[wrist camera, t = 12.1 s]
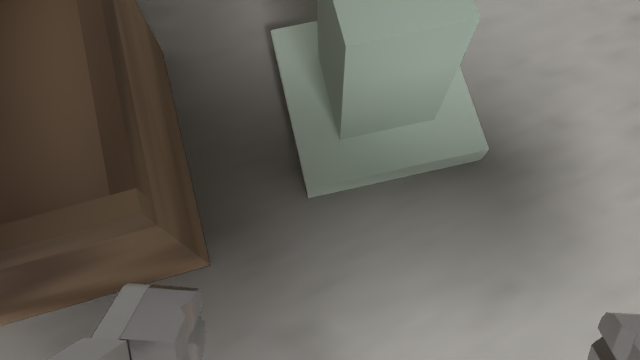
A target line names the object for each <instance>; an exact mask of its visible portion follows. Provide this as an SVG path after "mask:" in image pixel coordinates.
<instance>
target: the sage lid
mask: <svg viewBox="0 0 640 360" xmlns="http://www.w3.org/2000/svg"><path fill="white" fill-rule="evenodd" d="M480 19H481V17H480V15H479V12H478V10H477V7H476V4H475V2H474V0H317V21H313V22H308V23H303V24H298V25H293V26H288V27H283V28H278V29H273V30H270V31H271V37H272V43H273V48H274V52H275V56H276V61H277V65H278V69H279V74H280V78H281V82H282V87H283V91H284V96H285V100H286V104H287V109H288V113H289V117H290V122H291V126H292V130H293V135H294V139H295V143H296V148H297V152H298V156H299V161H300V165H301V169H302V174H303V178H304V183H305V187H306V191H307V196H308V198H312V197H316V196H321V195H325V194H330V193H334V192H339V191H343V190H348V189H352V188H357V187H361V186H366V185H370V184H375V183H379V182H384V181H388V180H393V179H397V178H402V177H406V176H411V175H416V174H420V173H425V172H429V171H434V170H438V169H443V168H447V167H452V166H456V165H461V164H465V163H470V162H474V161H479V160H481V159H482V158H483V157H484V155H485V154H486V153H487V152H488V150H489V147H488V144H487V141H486V139H485V136H484V133H483V130H482V127H481V124H480V122H479V119H478V116H477V113H476V110H475V108H474V105H473V102H472V99H471V96H470V93H469V91H468V88H467V85H466V82H465V79H464V77H463V74H462V71H461V68H460V63H461V61H462V59H463V56H464V54H465V52H466V50H467V48H468V46H469V43H470V41H471V39H472V37H473V35H474V33H475V30H476V28H477V26H478V24H479V22H480Z"/></svg>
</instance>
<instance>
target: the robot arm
mask: <svg viewBox="0 0 640 360" xmlns="http://www.w3.org/2000/svg"><path fill="white" fill-rule="evenodd" d="M202 306H203V299H202V291H201V290H200V289H199V288H187V287H175V286H163V285H146V284H133V283H128V284H126V285H124V286H123V287H122V288H121V290H120V292H119V293H118V295H117V296H116V298H115V300H114V301H113V303H112V304H111V306H110V308H109V309H108V311H107V312H106V314H105V316H104V317H103V319H102V320H101V322H100V324H99V325H98V327H97V329H96V330H95V332H94V333H93V335H92V337H91V338H82V339H80V340H79V341H77V342H75V343H73V344H72V345H70V346H68V347H67V348H65V349H63V350H62V351H60V352H58V353H57V354H55V355H53V356H51V357H50V358H48V359H46V360H201V359H202V356H203V350H204V345H205V321H204V320H203V319H202V318H201V317H200V316H199V314H200V311H201V309H202ZM598 329H599V331H600V333H601V335H602V337H601V338H600V339H599V340H597V341H596V342H595V343H593V344H592V345H591V349H590V352H589V355H588V360H640V314H627V313H608V312H606V314H605V315H604V316H603V317H602V318H601V320H600V323H599V325H598Z"/></svg>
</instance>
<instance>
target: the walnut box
mask: <svg viewBox="0 0 640 360" xmlns="http://www.w3.org/2000/svg"><path fill="white" fill-rule="evenodd" d="M209 265H210V262H209V258H208V253H207V249H206V244H205V240H204V235H203V231H202V226H201V222H200V218H199V213H198V209H197V204H196V200H195V195H194V191H193V186H192V182H191V177H190V173H189V169H188V164H187V160H186V155H185V151H184V146H183V142H182V137H181V133H180V128H179V124H178V120H177V115H176V111H175V106H174V102H173V97H172V93H171V88H170V84H169V79H168V75H167V71H166V66H165V62H164V57H163V53H162V50H161V48H160V46H159V44H158V43H157V41H156V39H155V37H154V35H153V33H152V32H151V30H150V28H149V26H148V24H147V22H146V20H145V19H144V17H143V15H142V13H141V11H140V9H139V8H138V6H137V4H136V2H135V0H0V326H1V325H5V324H8V323H11V322H15V321H18V320H22V319H25V318H29V317H32V316H36V315H39V314H43V313H46V312H50V311H53V310H57V309H60V308H63V307H67V306H70V305H74V304H77V303H81V302H84V301H88V300H91V299H95V298H98V297H102V296H105V295H109V294H112V293H115V292H119V291H120V290H121V288H122V287H123V286H124V285H126V284H128V283H133V284H147V283H150V282H154V281H157V280H161V279H164V278H167V277H171V276H174V275H178V274H181V273H185V272H188V271H192V270H195V269H199V268H202V267H206V266H209Z"/></svg>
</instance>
